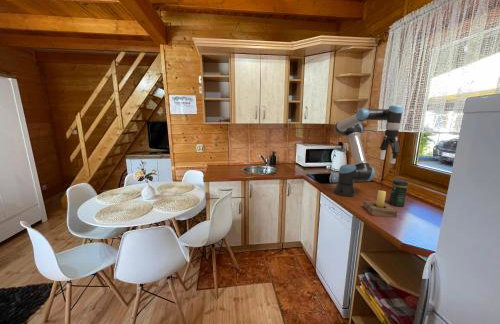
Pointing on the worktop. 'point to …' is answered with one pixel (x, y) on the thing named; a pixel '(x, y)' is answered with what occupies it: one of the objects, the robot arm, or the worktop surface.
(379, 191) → the peg
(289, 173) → the worktop surface
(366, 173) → the robot arm
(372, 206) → the socket block
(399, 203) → the coffee jar
